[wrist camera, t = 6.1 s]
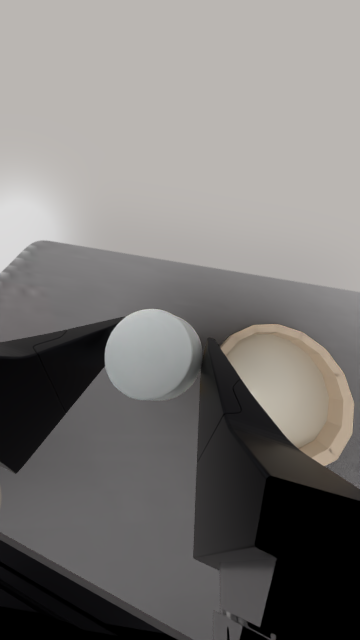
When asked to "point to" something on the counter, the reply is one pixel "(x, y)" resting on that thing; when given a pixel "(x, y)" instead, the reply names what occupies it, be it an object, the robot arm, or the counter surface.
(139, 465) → the counter surface
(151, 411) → the counter surface
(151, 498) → the counter surface
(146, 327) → the supplement bottle
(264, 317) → the counter surface
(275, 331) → the round tray
